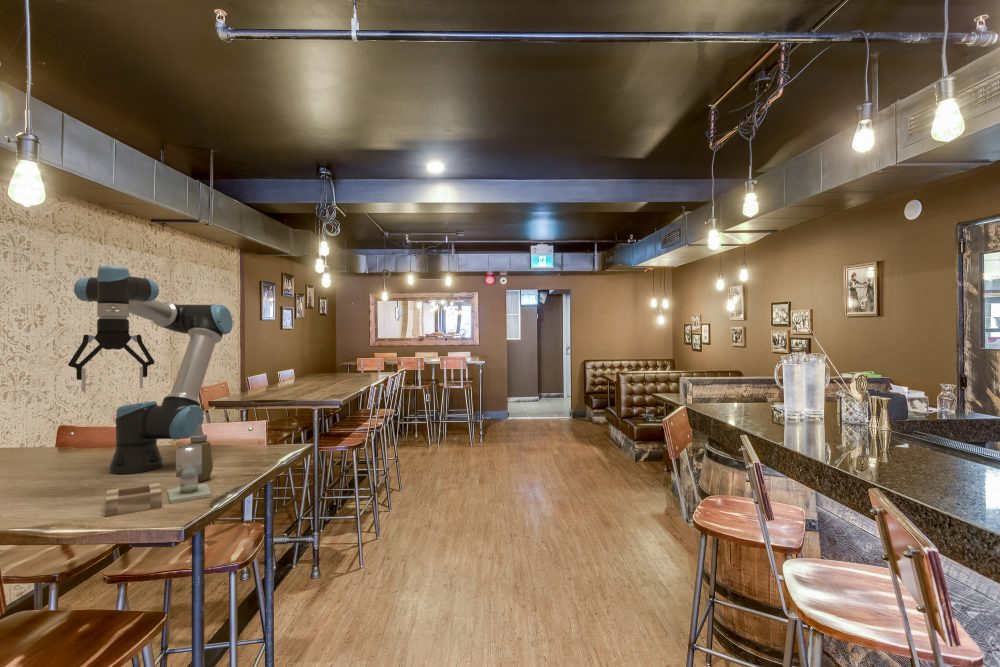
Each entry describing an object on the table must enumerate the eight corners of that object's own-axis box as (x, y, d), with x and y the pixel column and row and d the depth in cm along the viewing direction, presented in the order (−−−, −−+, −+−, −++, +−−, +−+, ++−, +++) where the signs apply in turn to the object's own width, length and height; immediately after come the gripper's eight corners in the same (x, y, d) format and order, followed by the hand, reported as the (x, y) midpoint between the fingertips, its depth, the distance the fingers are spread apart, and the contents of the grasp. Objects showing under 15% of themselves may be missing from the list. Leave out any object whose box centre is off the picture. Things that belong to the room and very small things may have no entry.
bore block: (107, 504, 139) (107, 489, 139) (159, 496, 146) (159, 482, 146) (105, 516, 129) (105, 501, 129) (161, 507, 136) (161, 492, 136)
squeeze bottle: (178, 481, 161) (178, 425, 161) (203, 475, 168) (203, 421, 168) (193, 485, 157) (193, 427, 157) (218, 478, 164) (218, 423, 164)
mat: (167, 493, 149) (167, 489, 149) (206, 486, 155) (206, 483, 155) (169, 503, 139) (169, 500, 139) (211, 496, 145) (211, 493, 145)
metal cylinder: (175, 490, 148) (174, 446, 148) (200, 486, 152) (200, 443, 152) (176, 496, 143) (176, 450, 143) (203, 492, 146) (203, 447, 146)
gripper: (56, 317, 139) (56, 393, 139) (164, 318, 154) (164, 387, 154) (59, 318, 145) (59, 391, 145) (162, 319, 160) (162, 386, 160)
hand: (113, 389), depth 149 cm, fingers open, 13 cm apart
